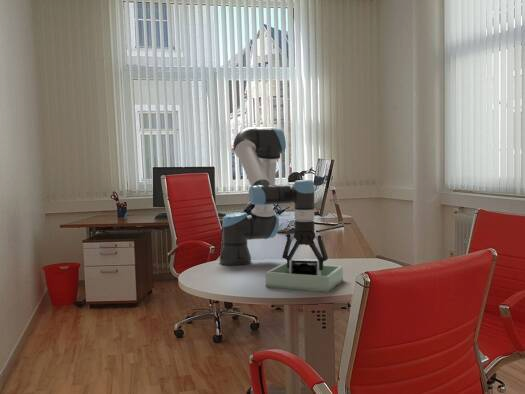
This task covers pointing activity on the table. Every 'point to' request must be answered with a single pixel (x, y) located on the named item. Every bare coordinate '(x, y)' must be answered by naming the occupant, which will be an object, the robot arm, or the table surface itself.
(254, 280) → the table surface
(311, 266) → the end cap
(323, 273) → the walled box
